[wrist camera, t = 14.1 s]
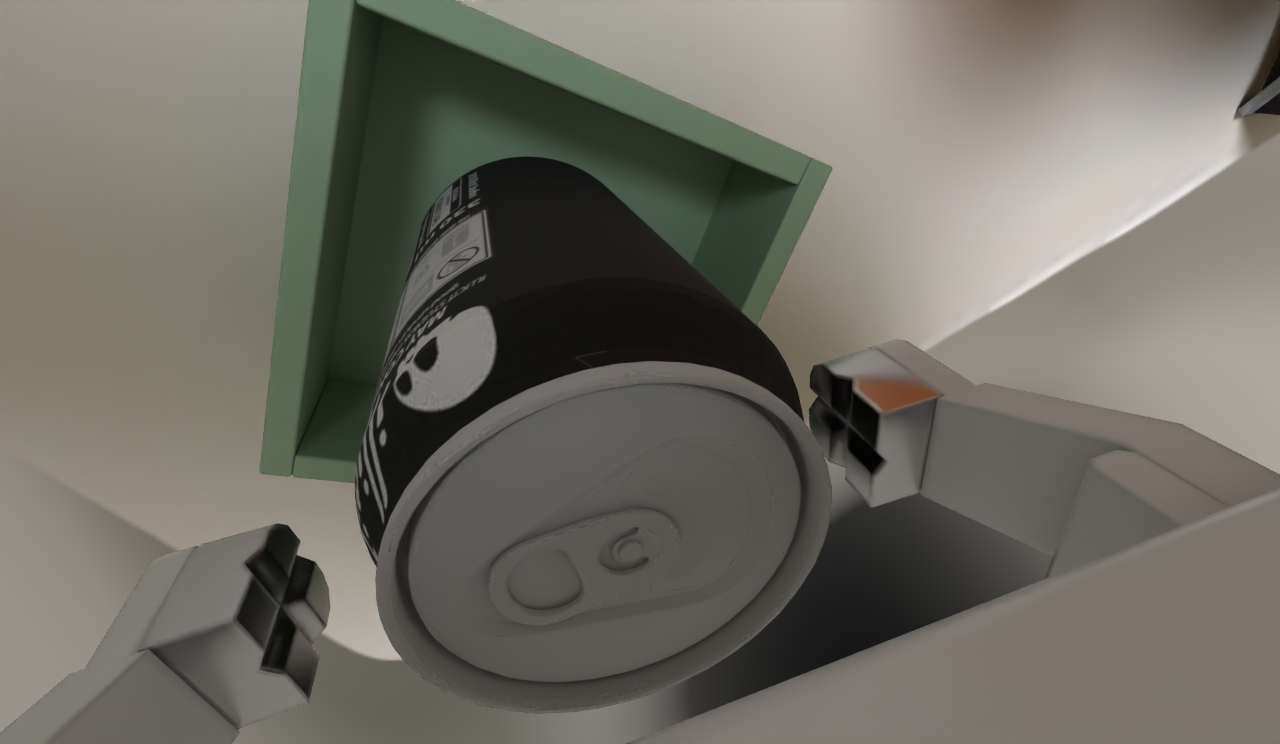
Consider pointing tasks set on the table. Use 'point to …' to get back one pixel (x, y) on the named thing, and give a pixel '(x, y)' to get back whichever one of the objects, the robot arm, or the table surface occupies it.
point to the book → (1266, 95)
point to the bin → (454, 145)
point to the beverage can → (577, 454)
